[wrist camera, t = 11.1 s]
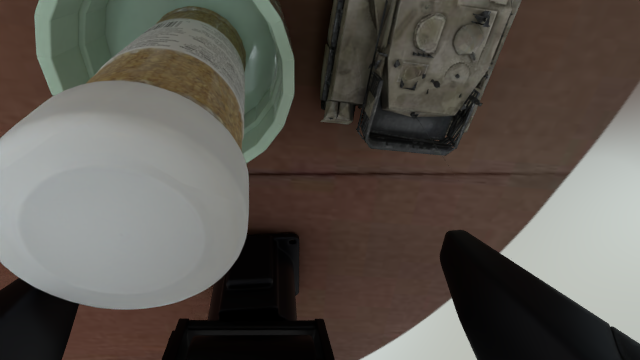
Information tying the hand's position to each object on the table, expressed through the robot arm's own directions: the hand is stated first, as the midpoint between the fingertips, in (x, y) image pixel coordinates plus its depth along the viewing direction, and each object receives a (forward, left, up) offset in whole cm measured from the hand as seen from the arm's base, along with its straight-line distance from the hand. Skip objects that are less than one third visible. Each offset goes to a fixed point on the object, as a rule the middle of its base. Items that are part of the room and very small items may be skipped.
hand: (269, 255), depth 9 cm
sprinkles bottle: (+2, +3, -12) cm, 13 cm away
